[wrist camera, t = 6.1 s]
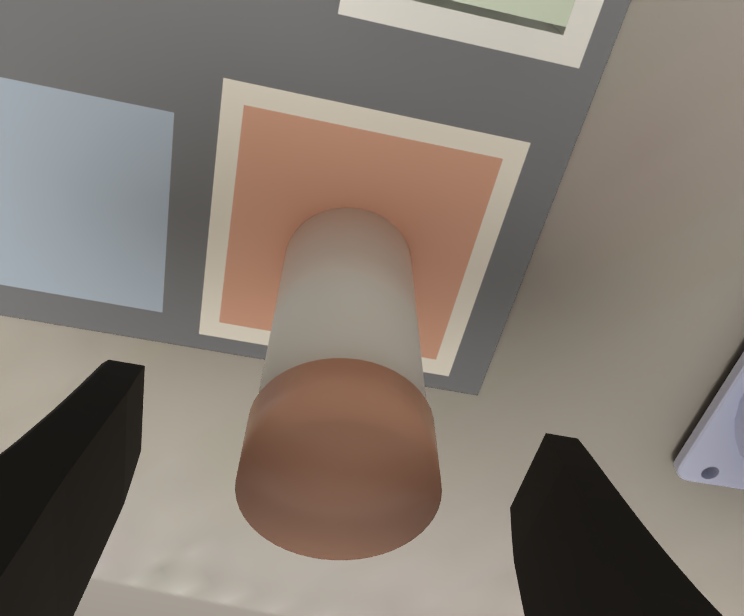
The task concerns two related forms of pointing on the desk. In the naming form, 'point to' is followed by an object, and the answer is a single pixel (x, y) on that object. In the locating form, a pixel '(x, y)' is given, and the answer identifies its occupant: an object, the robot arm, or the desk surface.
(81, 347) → the desk surface
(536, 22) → the button housing
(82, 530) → the robot arm
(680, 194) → the desk surface
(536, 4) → the button
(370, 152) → the picture sheet
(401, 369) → the cylinder
